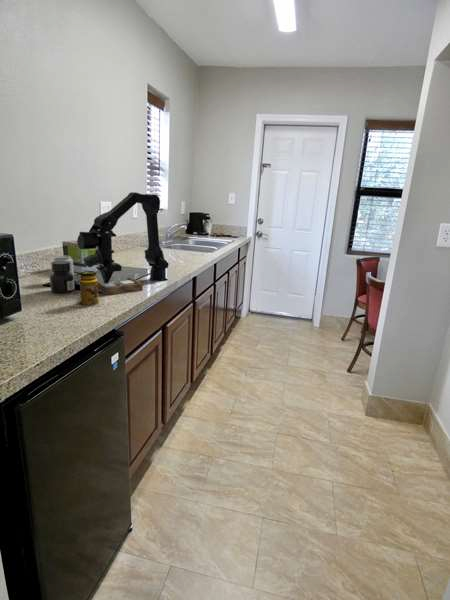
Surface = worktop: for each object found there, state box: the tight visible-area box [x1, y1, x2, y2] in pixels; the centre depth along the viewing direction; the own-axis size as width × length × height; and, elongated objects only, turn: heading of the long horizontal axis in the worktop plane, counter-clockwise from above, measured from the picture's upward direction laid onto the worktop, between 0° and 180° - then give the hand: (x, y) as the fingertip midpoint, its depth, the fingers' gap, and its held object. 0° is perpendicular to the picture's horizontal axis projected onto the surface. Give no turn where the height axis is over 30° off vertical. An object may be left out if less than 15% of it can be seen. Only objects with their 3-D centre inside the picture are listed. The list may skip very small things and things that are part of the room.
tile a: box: [118, 279, 135, 286], centre depth 152 cm, size 5×5×3 cm
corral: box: [98, 277, 143, 296], centre depth 149 cm, size 16×12×3 cm
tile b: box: [101, 282, 117, 288], centre depth 147 cm, size 5×5×3 cm
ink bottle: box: [49, 260, 76, 295], centre depth 141 cm, size 10×9×12 cm
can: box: [53, 254, 75, 276], centre depth 153 cm, size 8×8×12 cm
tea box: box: [62, 239, 99, 274], centre depth 178 cm, size 15×10×15 cm
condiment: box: [73, 271, 101, 308], centre depth 127 cm, size 7×8×12 cm
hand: (106, 284), depth 150 cm, fingers closed
